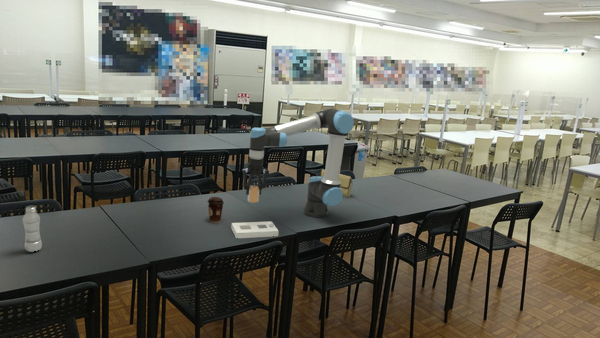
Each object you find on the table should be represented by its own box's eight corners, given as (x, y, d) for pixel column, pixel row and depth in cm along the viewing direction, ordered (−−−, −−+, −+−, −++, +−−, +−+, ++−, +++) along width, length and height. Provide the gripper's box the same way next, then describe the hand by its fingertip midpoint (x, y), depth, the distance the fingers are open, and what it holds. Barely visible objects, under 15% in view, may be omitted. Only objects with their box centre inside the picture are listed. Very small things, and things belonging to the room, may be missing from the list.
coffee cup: (207, 223, 237) (208, 200, 234) (206, 218, 245) (207, 196, 242) (223, 223, 240) (224, 200, 237) (222, 218, 247) (222, 196, 244)
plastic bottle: (45, 247, 194) (42, 205, 189) (36, 254, 187) (34, 210, 183) (30, 247, 194) (27, 204, 189) (21, 253, 187) (18, 209, 182)
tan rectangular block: (255, 200, 235) (257, 185, 234) (257, 202, 232) (258, 187, 230) (248, 200, 234) (249, 185, 232) (249, 202, 230) (251, 187, 229)
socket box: (271, 226, 241) (271, 220, 240) (278, 236, 228) (278, 229, 227) (231, 228, 234) (231, 222, 233) (236, 238, 221) (236, 231, 220)
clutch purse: (313, 189, 320) (315, 169, 317) (319, 187, 326) (321, 168, 322) (347, 199, 302) (349, 178, 298) (352, 198, 307) (355, 177, 303)
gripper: (270, 156, 234) (266, 198, 239) (238, 155, 228) (235, 198, 233) (273, 159, 227) (270, 202, 232) (241, 158, 221) (238, 203, 227)
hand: (253, 200), depth 233 cm, fingers closed on tan rectangular block, 4 cm apart
